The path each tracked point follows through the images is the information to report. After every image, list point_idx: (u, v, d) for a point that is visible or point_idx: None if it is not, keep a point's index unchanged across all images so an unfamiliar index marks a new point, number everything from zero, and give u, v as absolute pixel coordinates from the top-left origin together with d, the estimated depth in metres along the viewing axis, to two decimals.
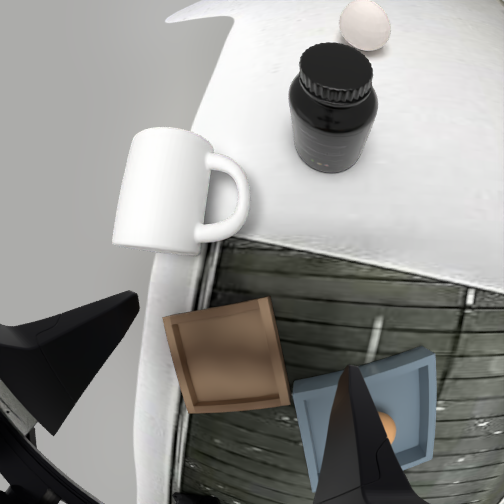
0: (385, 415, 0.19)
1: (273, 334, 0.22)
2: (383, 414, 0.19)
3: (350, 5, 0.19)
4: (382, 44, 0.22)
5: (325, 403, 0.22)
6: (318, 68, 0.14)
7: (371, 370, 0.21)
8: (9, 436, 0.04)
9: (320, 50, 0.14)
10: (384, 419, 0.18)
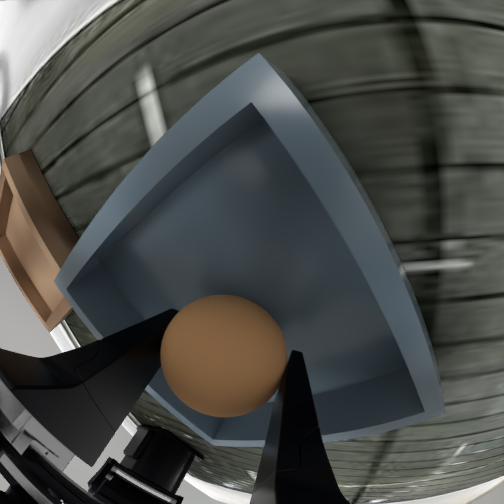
0: (215, 310, 0.08)
1: (20, 199, 0.11)
2: (211, 307, 0.08)
3: None
4: None
5: (139, 284, 0.12)
6: None
7: None
8: (56, 484, 0.03)
9: None
10: (199, 326, 0.08)
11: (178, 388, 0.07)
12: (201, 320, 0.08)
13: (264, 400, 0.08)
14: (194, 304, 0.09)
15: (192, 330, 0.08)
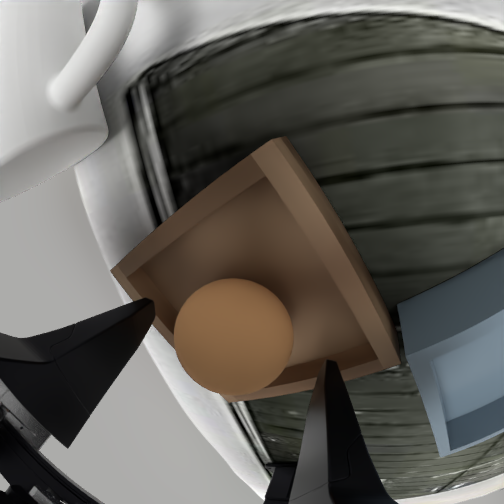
0: (228, 291, 0.09)
1: (326, 229, 0.08)
2: (224, 288, 0.09)
3: None
4: None
5: None
6: None
7: None
8: (26, 455, 0.04)
9: None
10: (213, 305, 0.09)
11: (192, 365, 0.08)
12: (215, 299, 0.09)
13: (273, 377, 0.09)
14: (207, 286, 0.10)
15: (206, 309, 0.08)
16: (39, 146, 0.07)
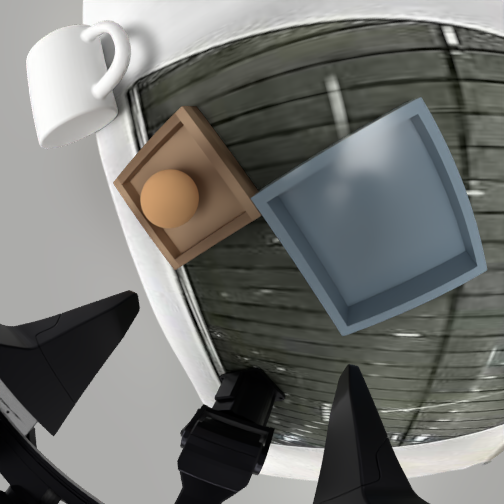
0: (165, 170, 0.19)
1: (204, 139, 0.18)
2: (164, 170, 0.19)
3: None
4: None
5: (310, 204, 0.20)
6: None
7: (342, 139, 0.16)
8: (9, 436, 0.04)
9: None
10: (158, 174, 0.18)
11: (146, 201, 0.18)
12: (159, 172, 0.18)
13: (183, 208, 0.19)
14: None
15: (155, 176, 0.18)
16: (88, 113, 0.16)
